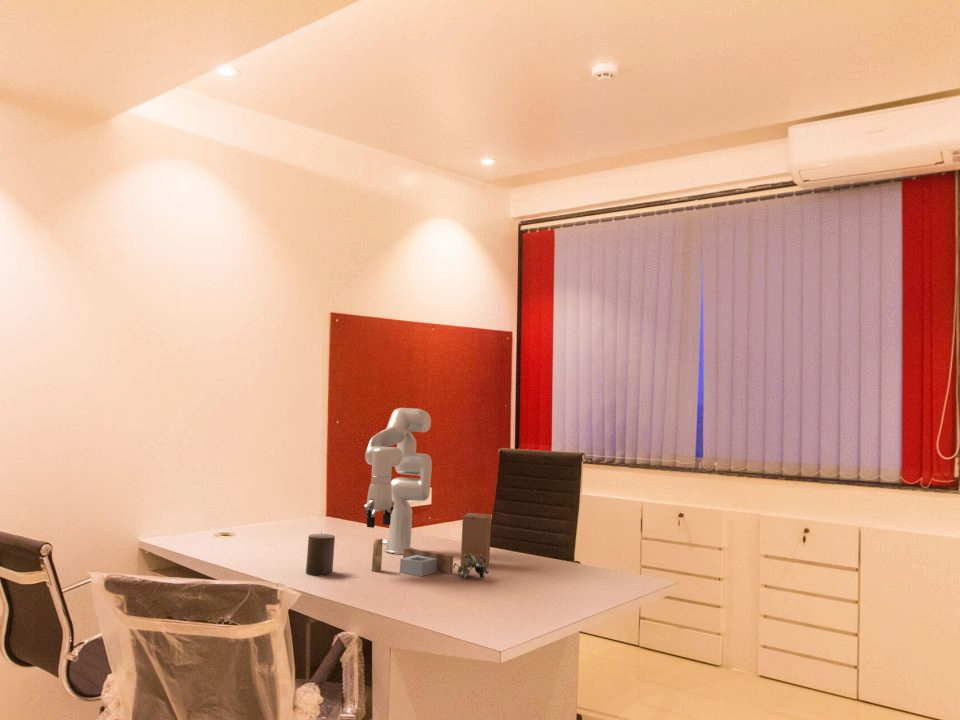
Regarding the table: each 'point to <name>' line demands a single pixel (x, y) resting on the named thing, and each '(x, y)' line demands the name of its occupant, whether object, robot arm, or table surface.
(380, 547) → the oak dowel
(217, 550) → the table surface
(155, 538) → the table surface
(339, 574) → the table surface
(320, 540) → the pillar candle
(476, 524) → the wooden block
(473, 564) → the passion flower
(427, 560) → the socket block
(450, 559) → the walnut wall
